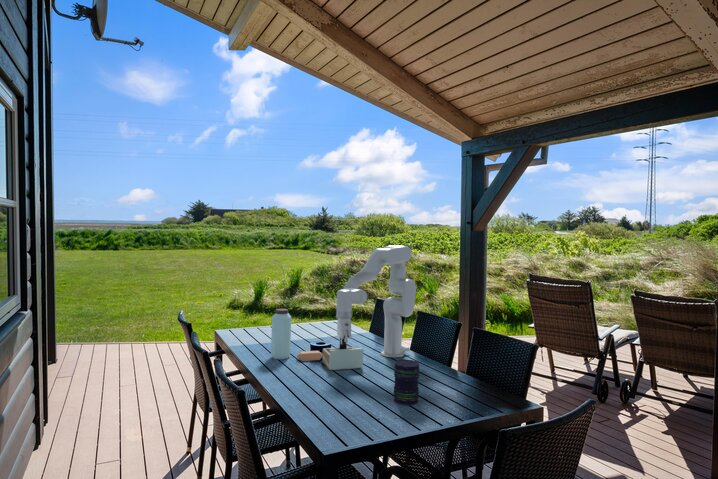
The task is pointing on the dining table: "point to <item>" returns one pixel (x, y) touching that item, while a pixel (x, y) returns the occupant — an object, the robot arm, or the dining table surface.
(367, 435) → the dining table surface
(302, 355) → the dome-capped square column
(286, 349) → the water bottle
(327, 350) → the crate
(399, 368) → the storage jar
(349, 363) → the tailgate
